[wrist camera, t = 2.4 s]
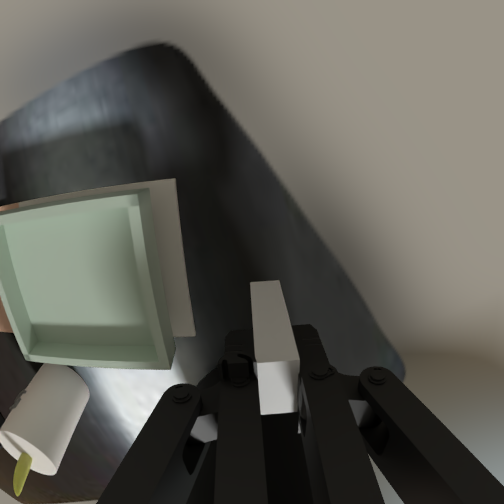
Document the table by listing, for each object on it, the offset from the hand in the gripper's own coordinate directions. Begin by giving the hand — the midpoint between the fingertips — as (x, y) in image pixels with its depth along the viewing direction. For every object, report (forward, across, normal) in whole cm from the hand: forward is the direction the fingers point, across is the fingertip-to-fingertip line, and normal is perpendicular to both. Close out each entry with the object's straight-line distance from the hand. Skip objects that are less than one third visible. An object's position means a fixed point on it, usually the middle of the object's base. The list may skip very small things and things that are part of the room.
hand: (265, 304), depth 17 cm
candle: (+7, -22, -13) cm, 26 cm away
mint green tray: (+7, -14, 0) cm, 15 cm away
